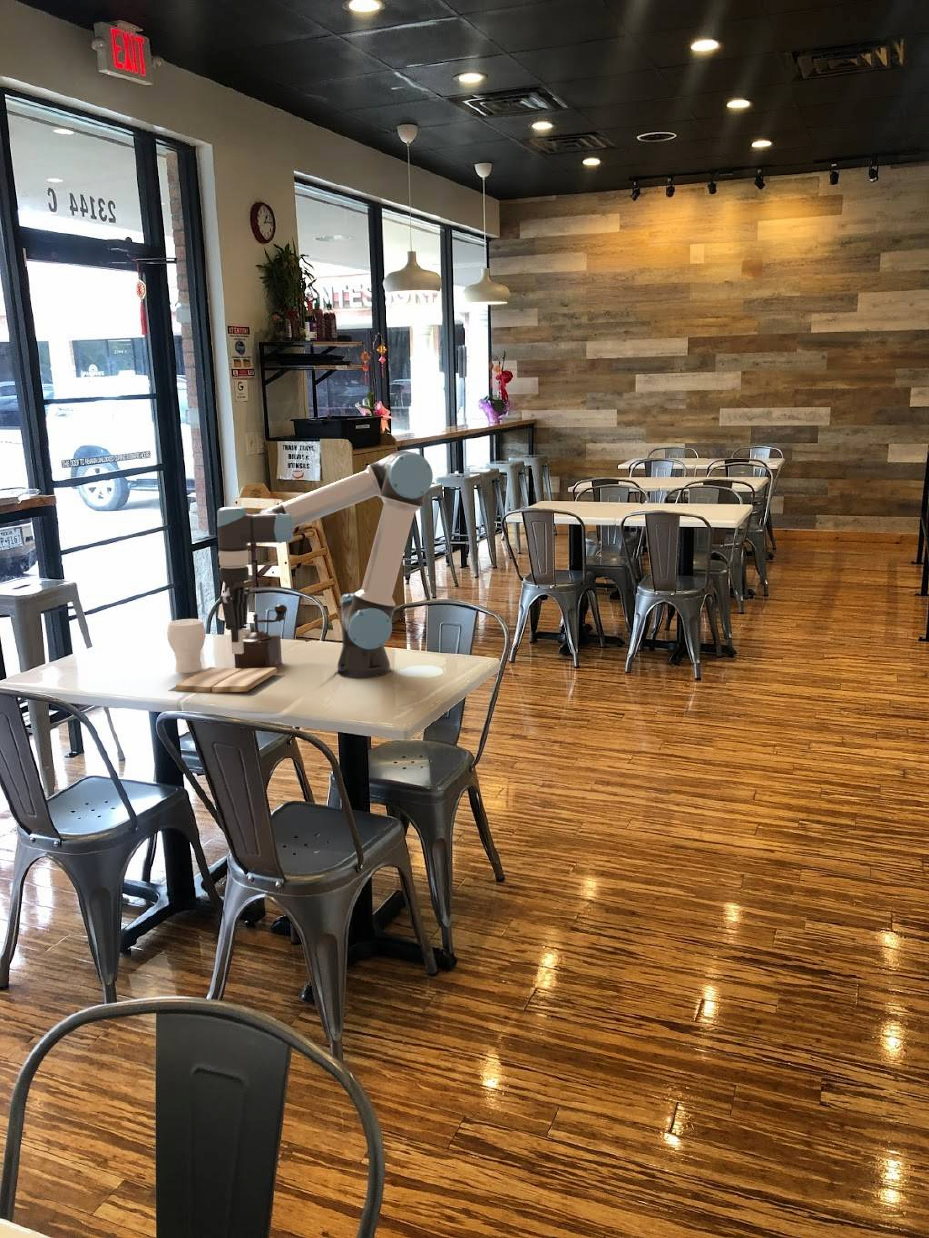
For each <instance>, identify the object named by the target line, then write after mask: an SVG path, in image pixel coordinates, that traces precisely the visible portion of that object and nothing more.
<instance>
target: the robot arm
mask: <svg viewBox="0 0 929 1238" xmlns="http://www.w3.org/2000/svg"><path fill="white" fill-rule="evenodd" d="M433 475H434V474H433V469H432V467H431V465H430V463H429V462H428V460H427V459H426V458H425V457H424V456H423V455H421V454H419V453H416V452H414V451H413V452H412V451H407V450H399V451H395V452H393V453H390V454H389V455H388V456H385V457H383V458H382V459H380V460H378V461H375V462H373V463H370V464H369V465H367V467H366V469H365V470H364V471H360V472H359V473H355V474H353V475H350V476H349V477H346V478H342V479H341V480H340V479H339V480H338V481H336V482H332V483H330V484H326V485H325V486H322V487H319V488H318V489H316V490H312V491H310V492H307V493H305V494H302V495H299V496H298V497H295V498H292V499H290V500H287V501H284V502H282V503H280V504H278V505H277V504H276V505H274V506H272V507H265V508H263V509H261V510H259V512H258V513H257V514H251V513H250V514H248V512H247V509H246V507H243V506H224V507H220V508H219V509H218V510H217V513H216V516H217V520H216V522H217V523H216V527H217V543H218V553H217V557H218V561H219V562H218V564H219V566H220V568H218V569H219V581H220V582H223V583H224V594H223V595H220V596H219V600H220V602H221V604H222V606H221V607H222V612H223V617H224V623H225V629H226V630H227V631H230V637H231V638H230V641H231V642H230V643H231V654H233V655H234V654H242V653H244V648H243V637H244V632H243V631H244V629H247V623H248V610H249V598H250V597H249V596H250V592H251V591H250V588H248V587H246V583H245V582H247V581H249V579H250V570H249V567H248V564H249V551H248V550H249V549H248V547H249V546H248V544H255V543H256V544H258V543H259V544H264V543H266V544H268V543H269V544H270V543H278V544H281V543H291V542H292V541H293V539H294V529H295V528H298V527H300V526H303V525H304V524H307V523H310V522H313V521H315V520H318V519H321V518H322V517H325V516H328V515H330V514H333V513H336V512H338V511H340V510H343V509H346V508H348V507H350V506H353V505H356V504H359V503H362V502H365V501H366V500H369V499H371V498H374V497H378V498H380V500H382V502H383V505H382V508H381V509H382V510H381V513H380V518H379V521H378V524H377V529H376V533H375V535H374V539H373V543H372V547H371V551H370V555H369V559H368V563H367V566H366V571H365V574H364V577H363V581H362V586H361V588H360V589H359V590H357V591H355V592H352V593H344V594H343V595H341V597H340V607H341V608H340V609H341V611H340V612H341V634H342V648H341V651H340V655H339V658H338V662H337V667H336V668H337V673H338V674H339V675H340V676H343V677H348V678H373V677H378V676H383V675H387V674H388V673H389V672H390V671H391V663H390V662H391V661H390V659H389V657H388V654H387V652H386V649H385V646H384V645H385V644H387V642H388V641H389V639H390V638H391V635H392V631H393V623H392V619H393V615H394V611H395V609H396V606H397V605H396V602H395V600H394V599H393V594H394V591H395V586H396V583H397V579H398V575H399V572H400V568H401V566H402V565H401V564H402V561H403V557H404V552H405V550H406V547H407V546H406V545H407V542H408V537H409V534H410V532H411V528H412V523H413V520H414V516H415V513H416V512H417V511H418V510H420V509H422V507H423V504H424V500H425V496H426V494H427V492H429V491H430V488H431V486H432V484H433V480H434V479H433V478H434V477H433Z"/></svg>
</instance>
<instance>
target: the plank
mask: <svg viewBox="0 0 929 1238" xmlns="http://www.w3.org/2000/svg"><path fill="white" fill-rule="evenodd" d="M277 673H278V671H277V667H274V668H246V669H242V670H240V671H239V672H237V673H235V674H233V675H232V676H230V677H228V678H226V679H225V680H223V681H221V682H220V683H218V684H216V685H214V686H213V687H212V692H243V691H248V690H250V689H252V688H253V687H255V686H256V685H258V684H260V683H261V682H263V681H264V680H266V679H267V678H269V677H271V676H272V675H276V674H277Z"/></svg>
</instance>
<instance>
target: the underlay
mask: <svg viewBox="0 0 929 1238" xmlns="http://www.w3.org/2000/svg"><path fill="white" fill-rule="evenodd" d="M285 676H286V674H274V675H272V676H271V677H269V678H267V679H266V680H264V681H263V682H261V683H260V684H258V685H256V686H255V687H253V688H252V689H250V690H248V691H243V692H197V693H203V694H217V695H218V694H222V695H223V694H224V695H236V696H237V695H241V696H242V695H243V696H256V695H258V693H260V692H262V691H264V690H265V689H266V688H268V687H270V686H271V685H273V684H274V683H276V682H278V681H279V680H280V679H282V678H284V677H285ZM167 691H168V692H177V691H176V686H174V687H172V688H170V689H168V690H167ZM178 692H181V693H194V692H193V691H178Z"/></svg>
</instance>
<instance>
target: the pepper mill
mask: <svg viewBox="0 0 929 1238" xmlns="http://www.w3.org/2000/svg"><path fill="white" fill-rule="evenodd" d="M287 607H288V606H286V605H285V604H280V603H279V604H277V605H275V606H274V612H275V613H276V615H275V616H276V617H275V619H258V615H259V614H257V613H254V614H253V616H252V617H253V620H252V621H253V622H254V631H252V632H250V633H248V634H247V635H245V636H243V648H244V653H242V654H233V655H234V656H233V657H234V668H241V669H246V668H274V667H276V668H277V667H278V666H279V665H281V664H282V663H283V661H282V643H281V640H282V639H281V635H276V634H269V632H268V631H266V632H265V631H263V630H259V623H267V624H269V623H275V622H277V623H278V622H279V623H281V621H285V615H286V614H287V612H288V608H287Z"/></svg>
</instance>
